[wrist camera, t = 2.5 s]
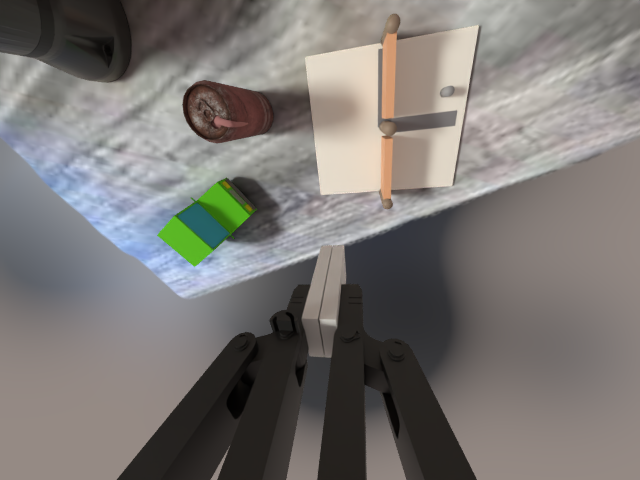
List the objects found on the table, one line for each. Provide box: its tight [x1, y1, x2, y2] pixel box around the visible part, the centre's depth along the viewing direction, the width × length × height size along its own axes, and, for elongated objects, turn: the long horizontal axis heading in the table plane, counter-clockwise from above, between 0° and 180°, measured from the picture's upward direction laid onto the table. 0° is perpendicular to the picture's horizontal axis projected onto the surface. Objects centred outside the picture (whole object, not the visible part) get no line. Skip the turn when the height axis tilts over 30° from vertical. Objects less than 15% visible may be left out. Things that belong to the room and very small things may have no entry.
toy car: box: [157, 178, 257, 267], centre depth 42 cm, size 10×13×10 cm
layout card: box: [305, 25, 479, 195], centre depth 34 cm, size 20×22×2 cm
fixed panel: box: [379, 14, 400, 136], centre depth 29 cm, size 12×2×7 cm, turn 7°
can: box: [182, 80, 273, 143], centre depth 30 cm, size 6×6×14 cm
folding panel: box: [379, 135, 393, 209], centre depth 34 cm, size 10×1×7 cm, turn 7°
